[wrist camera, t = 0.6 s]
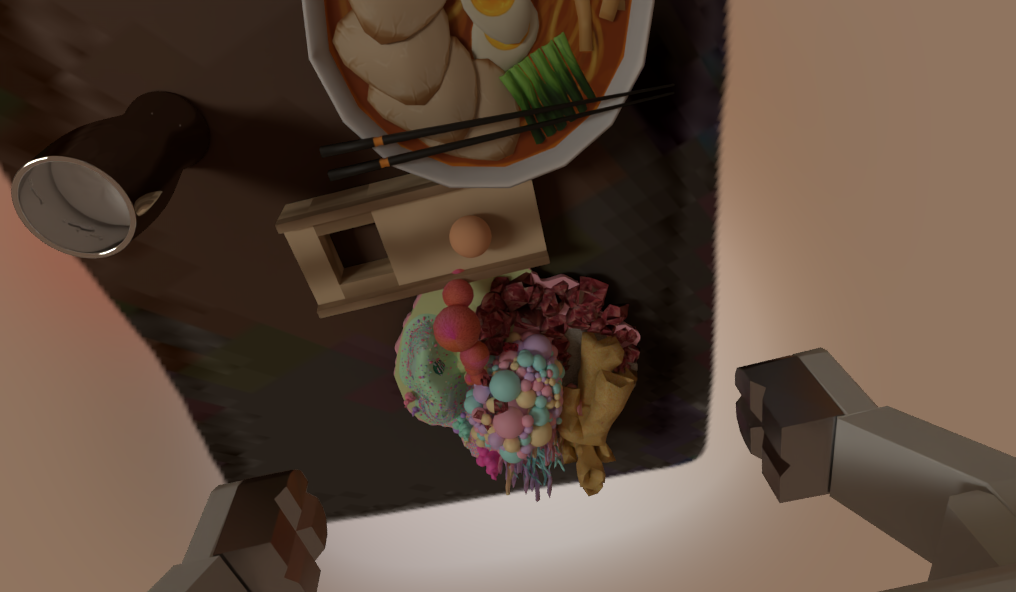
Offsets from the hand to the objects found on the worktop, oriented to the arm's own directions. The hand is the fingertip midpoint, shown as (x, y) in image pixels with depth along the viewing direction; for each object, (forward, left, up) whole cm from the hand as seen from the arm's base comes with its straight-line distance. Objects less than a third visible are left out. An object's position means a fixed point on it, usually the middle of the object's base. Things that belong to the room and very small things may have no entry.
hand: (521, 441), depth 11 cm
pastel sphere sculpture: (+32, -3, -40) cm, 52 cm away
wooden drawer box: (+15, -8, -42) cm, 45 cm away
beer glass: (+2, -24, -42) cm, 49 cm away
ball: (+15, -3, -37) cm, 40 cm away
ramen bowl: (-1, +2, -42) cm, 42 cm away
